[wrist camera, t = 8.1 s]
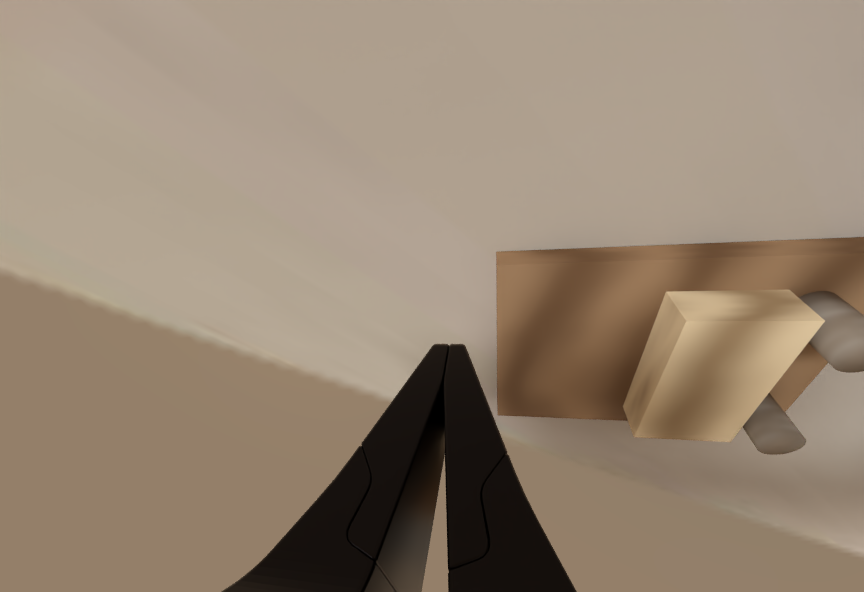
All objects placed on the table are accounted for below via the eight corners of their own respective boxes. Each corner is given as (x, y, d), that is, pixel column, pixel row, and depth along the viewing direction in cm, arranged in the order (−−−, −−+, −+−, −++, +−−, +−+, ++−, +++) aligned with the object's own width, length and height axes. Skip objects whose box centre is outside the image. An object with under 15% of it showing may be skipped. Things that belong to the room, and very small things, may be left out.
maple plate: (789, 289, 18) (824, 320, 16) (711, 409, 25) (730, 441, 23) (665, 291, 19) (686, 321, 17) (622, 406, 26) (633, 437, 24)
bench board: (895, 235, 17) (1014, 296, 13) (759, 408, 26) (806, 474, 22) (496, 251, 21) (498, 303, 17) (497, 399, 30) (499, 455, 26)
